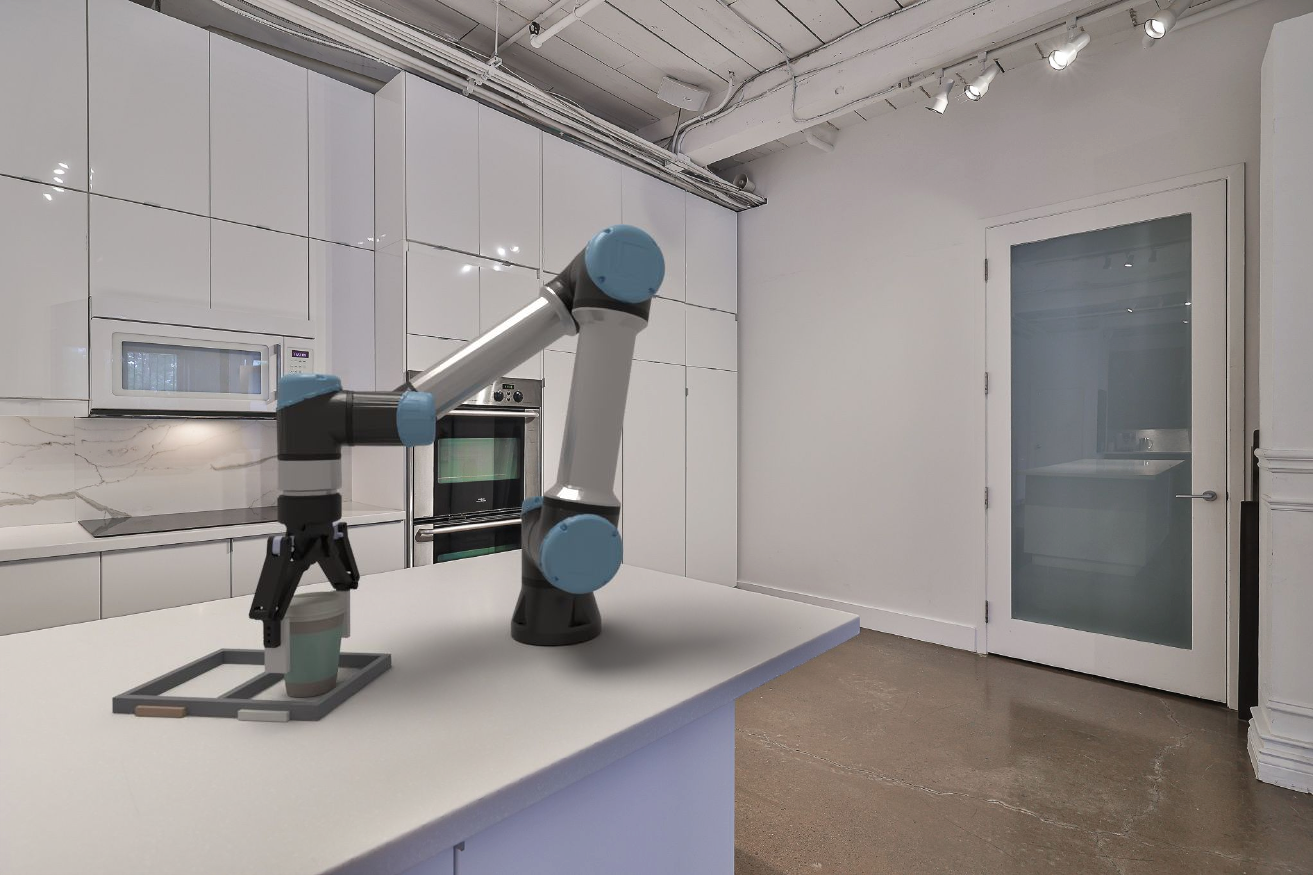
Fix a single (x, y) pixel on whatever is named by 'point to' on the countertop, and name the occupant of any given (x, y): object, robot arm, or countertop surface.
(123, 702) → the divided tray
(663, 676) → the countertop surface
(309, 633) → the coffee cup
